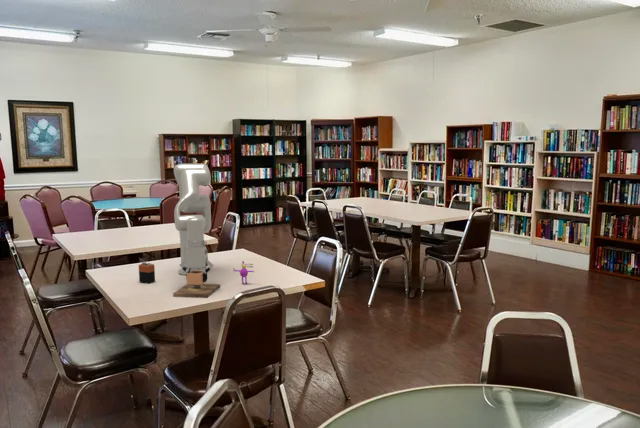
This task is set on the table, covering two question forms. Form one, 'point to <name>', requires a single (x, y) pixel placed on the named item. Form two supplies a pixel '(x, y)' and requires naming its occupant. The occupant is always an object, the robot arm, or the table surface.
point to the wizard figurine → (244, 271)
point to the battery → (146, 273)
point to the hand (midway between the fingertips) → (197, 280)
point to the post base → (196, 290)
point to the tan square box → (195, 277)
